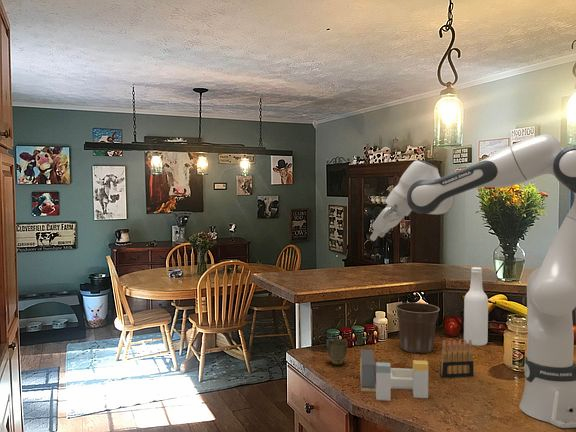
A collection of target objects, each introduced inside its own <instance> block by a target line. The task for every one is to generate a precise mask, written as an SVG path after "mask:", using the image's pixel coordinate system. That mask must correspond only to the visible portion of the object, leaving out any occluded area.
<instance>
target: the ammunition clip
mask: <svg viewBox="0 0 576 432" xmlns="http://www.w3.org/2000/svg"><path fill="white" fill-rule="evenodd" d="M473 356H474V353H473V345H472V342H471V339H470V340H469V344H467V343H466V340H464V339H463V344H462V341H461V339H459V340H458V341H457V342H456V340H455V339H454V340H453V342H452V343H451V339H448V341H447V343H446V340H443V342H442V347H441V356H440V357H441V360H440V371H439V376H440V377H441V378H442V379H447V378H449V379H451V378H468V377H469V378H470V377H471V378H472V377H475V376H474V375H475V374H474V373H475V372H474V369H475V368H474V358H473Z"/></svg>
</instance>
